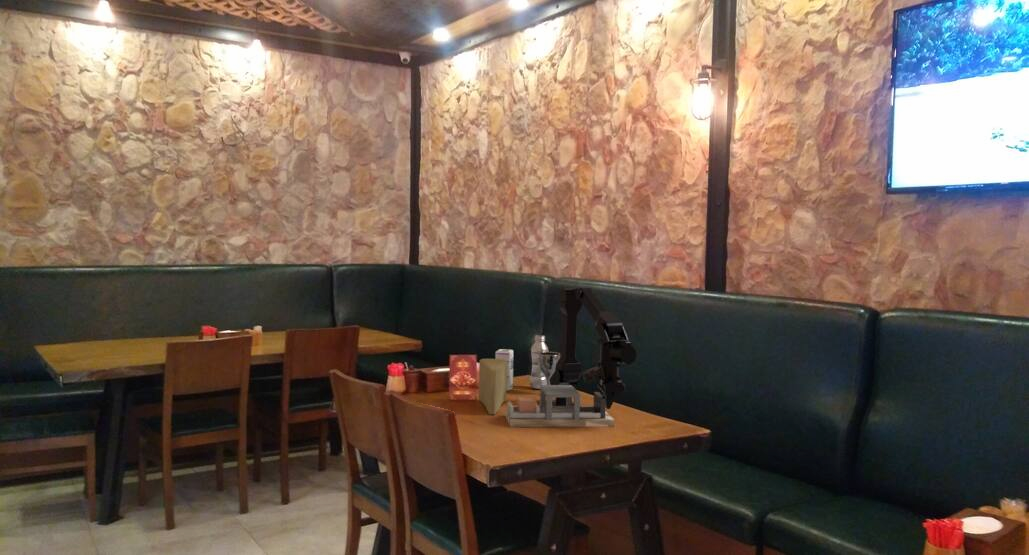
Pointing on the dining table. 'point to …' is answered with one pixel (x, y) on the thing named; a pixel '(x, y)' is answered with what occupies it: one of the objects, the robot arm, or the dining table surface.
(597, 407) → the frame
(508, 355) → the syrup box
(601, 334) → the robot arm
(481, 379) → the cheese
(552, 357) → the wine glass
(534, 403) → the block
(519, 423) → the cream flat frame
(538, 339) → the plastic bottle
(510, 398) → the dining table surface
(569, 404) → the tunnel
